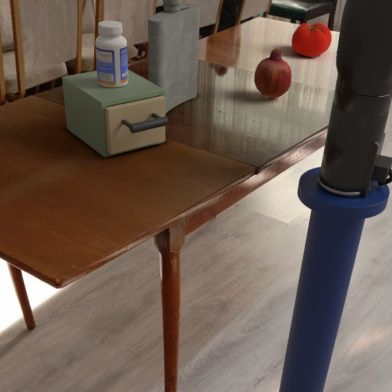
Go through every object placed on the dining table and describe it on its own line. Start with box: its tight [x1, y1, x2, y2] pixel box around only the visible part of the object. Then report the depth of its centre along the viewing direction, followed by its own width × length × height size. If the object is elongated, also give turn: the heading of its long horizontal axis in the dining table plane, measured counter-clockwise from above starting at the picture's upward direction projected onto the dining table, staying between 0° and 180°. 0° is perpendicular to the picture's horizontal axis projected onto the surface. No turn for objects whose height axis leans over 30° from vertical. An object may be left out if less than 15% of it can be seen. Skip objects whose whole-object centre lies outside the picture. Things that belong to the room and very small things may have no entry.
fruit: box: [253, 48, 293, 99], centre depth 132 cm, size 8×8×10 cm
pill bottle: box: [94, 20, 129, 88], centre depth 108 cm, size 5×5×10 cm
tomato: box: [291, 22, 333, 58], centre depth 159 cm, size 10×11×6 cm
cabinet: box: [61, 69, 165, 158], centre depth 115 cm, size 15×13×10 cm
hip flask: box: [147, 0, 201, 115], centre depth 124 cm, size 16×4×20 cm, turn 150°
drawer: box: [105, 96, 169, 154], centre depth 112 cm, size 18×11×8 cm, turn 35°
